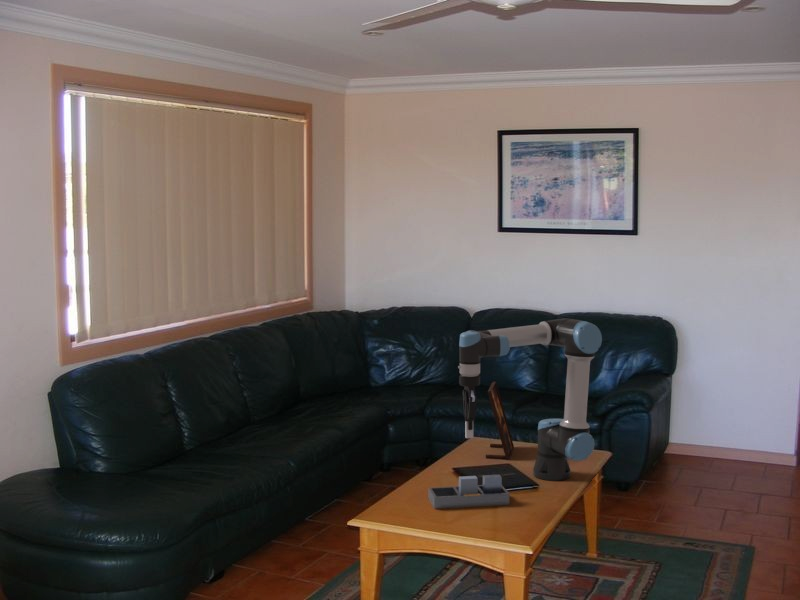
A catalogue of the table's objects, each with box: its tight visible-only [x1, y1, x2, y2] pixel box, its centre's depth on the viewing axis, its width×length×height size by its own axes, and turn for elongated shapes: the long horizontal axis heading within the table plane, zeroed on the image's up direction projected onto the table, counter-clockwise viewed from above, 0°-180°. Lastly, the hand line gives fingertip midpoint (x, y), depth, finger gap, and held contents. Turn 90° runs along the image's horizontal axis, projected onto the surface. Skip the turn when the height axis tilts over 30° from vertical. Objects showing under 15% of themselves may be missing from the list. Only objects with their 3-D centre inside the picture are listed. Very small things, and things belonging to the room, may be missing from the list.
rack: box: [427, 474, 510, 510], centre depth 335 cm, size 28×11×9 cm, turn 99°
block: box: [458, 475, 479, 495], centre depth 335 cm, size 6×3×8 cm, turn 100°
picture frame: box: [485, 381, 515, 461], centre depth 399 cm, size 21×11×30 cm, turn 168°
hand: (469, 437), depth 333 cm, fingers closed
